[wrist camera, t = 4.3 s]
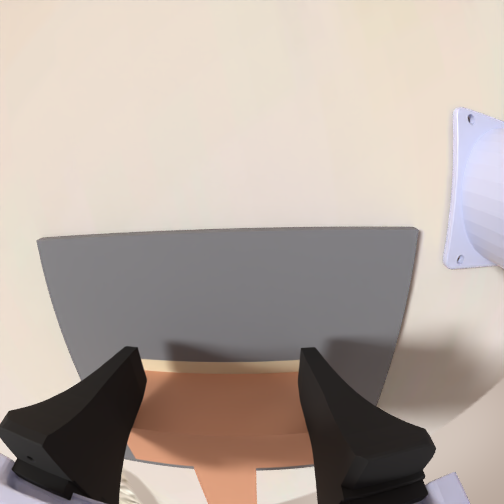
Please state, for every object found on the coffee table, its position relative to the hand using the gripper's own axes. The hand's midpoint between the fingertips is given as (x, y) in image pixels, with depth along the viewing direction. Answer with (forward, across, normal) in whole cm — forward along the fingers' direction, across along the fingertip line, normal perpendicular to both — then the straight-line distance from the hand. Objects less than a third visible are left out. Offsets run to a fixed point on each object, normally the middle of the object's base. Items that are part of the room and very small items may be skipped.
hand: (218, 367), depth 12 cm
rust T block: (+1, 0, +6) cm, 6 cm away
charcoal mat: (+2, 0, +3) cm, 4 cm away
